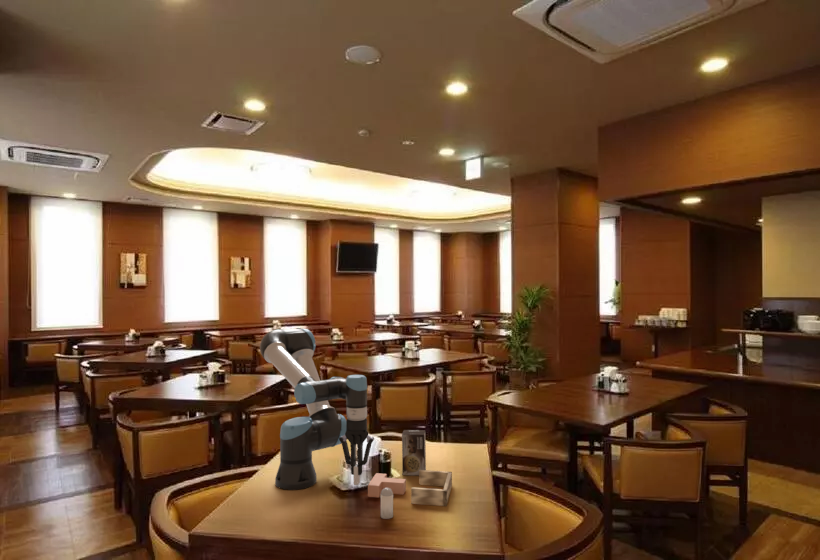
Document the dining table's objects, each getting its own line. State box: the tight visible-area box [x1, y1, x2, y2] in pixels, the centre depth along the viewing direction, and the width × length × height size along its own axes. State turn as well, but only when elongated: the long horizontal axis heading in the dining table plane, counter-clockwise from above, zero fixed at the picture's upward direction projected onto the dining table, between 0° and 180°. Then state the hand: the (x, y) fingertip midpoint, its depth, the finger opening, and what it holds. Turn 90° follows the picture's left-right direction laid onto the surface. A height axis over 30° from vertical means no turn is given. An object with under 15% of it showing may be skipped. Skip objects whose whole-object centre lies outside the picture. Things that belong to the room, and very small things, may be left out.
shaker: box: [380, 488, 394, 520], centre depth 160 cm, size 4×4×9 cm
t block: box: [367, 472, 407, 498], centre depth 181 cm, size 12×12×4 cm
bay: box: [410, 469, 453, 507], centre depth 178 cm, size 12×18×5 cm, turn 170°
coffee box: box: [401, 429, 427, 476], centre depth 199 cm, size 9×6×16 cm
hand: (356, 483), depth 183 cm, fingers closed
